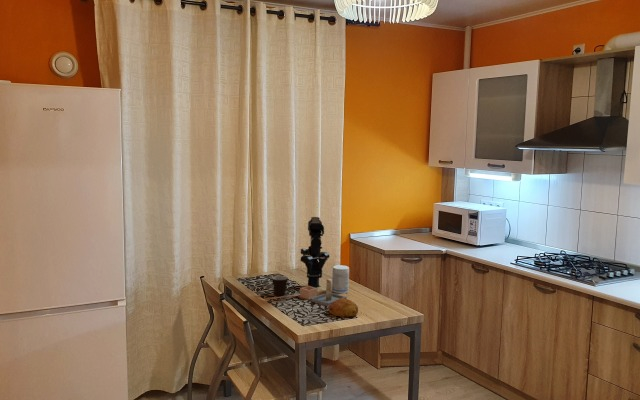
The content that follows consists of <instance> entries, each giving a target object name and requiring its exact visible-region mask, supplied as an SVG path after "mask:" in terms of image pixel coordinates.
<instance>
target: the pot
mask: <svg viewBox="0 0 640 400" xmlns="http://www.w3.org/2000/svg"><path fill="white" fill-rule="evenodd" d="M316 296H318V287H317V288H315V287H311V286H308V285H305V286H303V287H300V288H299V297H300V298H303V299H306V300H311V298H313V297H316Z"/></svg>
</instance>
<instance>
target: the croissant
mask: <svg viewBox="0 0 640 400" xmlns="http://www.w3.org/2000/svg"><path fill="white" fill-rule="evenodd" d="M327 309H328V312H329V313H330V314H331V315H333V316H335V317H339V318H346V317H356V316H357V315H358V313H359V306H358V305H357V304H356V303H355V302H354V301H352V300H351V299H348V298H347V299H346V298H340V299H338V300H335V301H334V302H332V303H331V304H330V305H329V306H327Z"/></svg>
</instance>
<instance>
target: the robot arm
mask: <svg viewBox="0 0 640 400" xmlns="http://www.w3.org/2000/svg"><path fill="white" fill-rule="evenodd" d="M307 231H308V236H309V237H310V246H308V248H307V249H306V248H305V247H304V248H301V249H300V255H301V257H300V262H301V263H304V264H305V267H306V278H307V279H308V280H307V286H311V287H315V288H317V289H318V288H321V286H320V279H321V278H323V268H324V265H326V262H327V261H328V260H329V258H330V254H329V252H326V251H321V249H323V246H322V237H323V236H324V234H325V226H324V224H323V222H322V220H321V219H320V217H319V216H312V217H311V218H310V220H309V221H308V222H307Z"/></svg>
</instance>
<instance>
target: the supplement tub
mask: <svg viewBox="0 0 640 400" xmlns="http://www.w3.org/2000/svg"><path fill="white" fill-rule="evenodd" d="M331 280H332V293H333V292H334V294H347V293H348V292H349V283H350V267H349V266H347V265H344V264H343V265H341V264H339V265H334V266H333V267H332V279H331Z"/></svg>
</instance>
